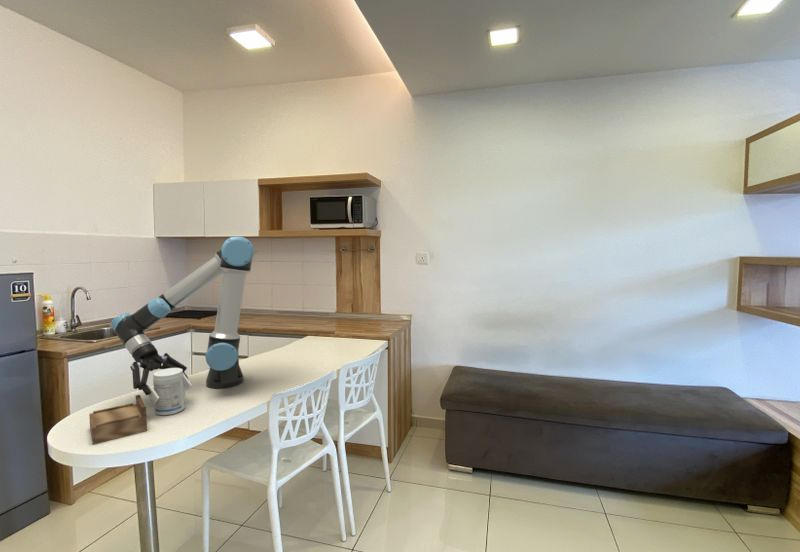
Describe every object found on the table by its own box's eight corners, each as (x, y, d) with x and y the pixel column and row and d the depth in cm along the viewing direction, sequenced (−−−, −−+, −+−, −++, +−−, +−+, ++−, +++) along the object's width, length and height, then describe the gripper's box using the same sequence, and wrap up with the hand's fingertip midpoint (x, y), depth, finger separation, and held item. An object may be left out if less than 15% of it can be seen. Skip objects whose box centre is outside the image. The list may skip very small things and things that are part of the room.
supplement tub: (163, 406, 148) (161, 367, 147) (189, 404, 149) (187, 366, 148) (149, 417, 139) (147, 376, 138) (178, 415, 140) (176, 375, 139)
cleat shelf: (140, 416, 139) (139, 394, 138) (147, 430, 128) (146, 406, 128) (90, 428, 130) (88, 404, 129) (92, 444, 119) (91, 418, 119)
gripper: (166, 348, 159) (196, 388, 155) (102, 364, 136) (135, 413, 132) (176, 336, 157) (206, 376, 153) (112, 351, 134) (146, 399, 130)
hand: (173, 393), depth 143 cm, fingers open, 13 cm apart
